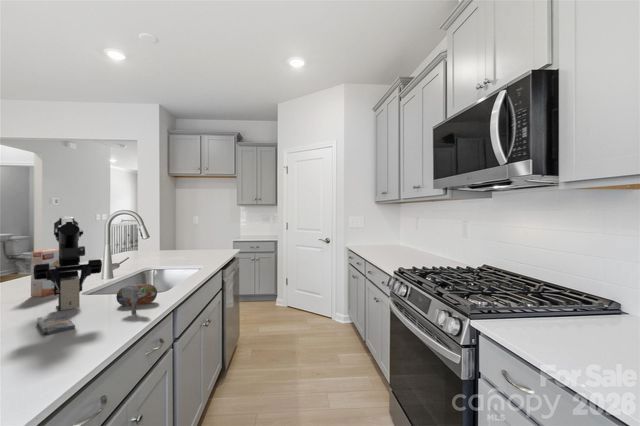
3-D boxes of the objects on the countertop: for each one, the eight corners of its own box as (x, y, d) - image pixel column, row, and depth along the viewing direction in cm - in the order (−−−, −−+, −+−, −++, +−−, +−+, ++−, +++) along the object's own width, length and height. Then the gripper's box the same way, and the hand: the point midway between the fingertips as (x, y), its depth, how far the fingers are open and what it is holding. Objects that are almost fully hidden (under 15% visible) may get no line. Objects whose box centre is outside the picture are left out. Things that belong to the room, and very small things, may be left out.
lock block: (61, 306, 108) (61, 278, 108) (79, 303, 111) (79, 276, 111) (60, 310, 104) (60, 281, 104) (79, 307, 107) (79, 278, 107)
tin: (116, 307, 128) (116, 287, 128) (118, 305, 131) (118, 285, 131) (156, 303, 134) (156, 284, 134) (157, 301, 137) (157, 282, 137)
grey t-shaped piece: (142, 314, 119) (142, 289, 119) (119, 312, 121) (119, 287, 121) (147, 312, 122) (147, 287, 122) (125, 310, 124) (125, 285, 124)
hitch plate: (37, 324, 108) (37, 317, 108) (66, 318, 114) (66, 312, 114) (43, 335, 99) (43, 328, 99) (75, 328, 105) (75, 321, 105)
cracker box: (43, 297, 141) (42, 251, 141) (30, 297, 141) (29, 251, 141) (68, 289, 155) (68, 248, 155) (56, 289, 155) (56, 247, 155)
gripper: (33, 240, 104) (32, 279, 96) (101, 237, 116) (105, 272, 108) (34, 260, 110) (33, 298, 102) (99, 255, 122) (102, 289, 114)
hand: (70, 289), depth 106 cm, fingers closed on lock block, 5 cm apart
